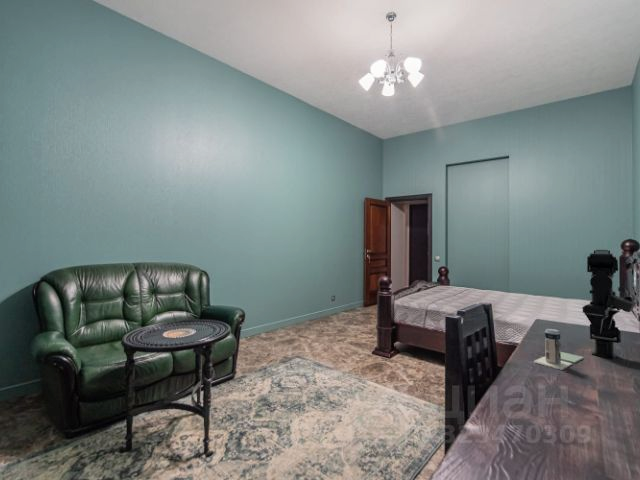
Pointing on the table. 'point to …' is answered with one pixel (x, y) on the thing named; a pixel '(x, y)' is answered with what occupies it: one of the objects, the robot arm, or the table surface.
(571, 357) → the sage coaster
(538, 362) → the cream coaster
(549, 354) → the cream labeled canister
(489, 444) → the table surface
